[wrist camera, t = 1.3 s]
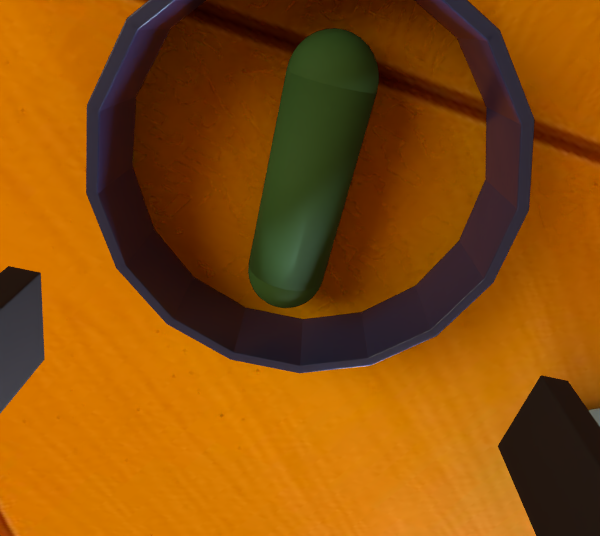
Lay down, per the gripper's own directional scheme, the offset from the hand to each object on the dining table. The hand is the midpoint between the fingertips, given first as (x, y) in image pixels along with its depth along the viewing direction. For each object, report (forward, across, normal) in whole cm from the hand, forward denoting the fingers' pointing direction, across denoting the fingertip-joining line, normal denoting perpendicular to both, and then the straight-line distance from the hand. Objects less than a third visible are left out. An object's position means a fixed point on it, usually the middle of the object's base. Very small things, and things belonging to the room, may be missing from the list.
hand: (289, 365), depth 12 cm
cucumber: (+17, 0, 0) cm, 17 cm away
